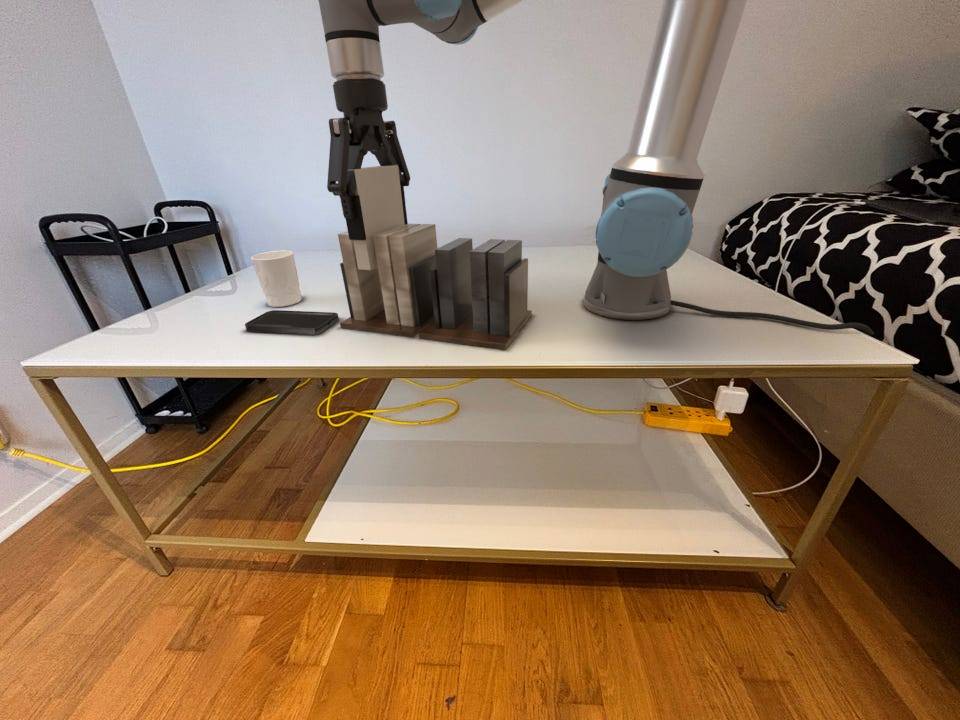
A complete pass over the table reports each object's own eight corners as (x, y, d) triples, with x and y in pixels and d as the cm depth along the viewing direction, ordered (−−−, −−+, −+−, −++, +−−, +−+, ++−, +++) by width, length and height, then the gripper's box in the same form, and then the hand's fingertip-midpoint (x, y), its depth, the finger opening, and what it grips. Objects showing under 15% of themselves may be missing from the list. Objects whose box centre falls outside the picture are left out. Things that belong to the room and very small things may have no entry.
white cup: (286, 309, 83) (273, 260, 79) (256, 306, 86) (241, 258, 81) (312, 297, 90) (301, 251, 85) (283, 294, 92) (271, 249, 88)
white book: (408, 253, 77) (398, 165, 70) (370, 270, 67) (354, 169, 60) (396, 252, 78) (385, 165, 71) (358, 269, 68) (340, 169, 61)
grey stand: (531, 315, 75) (533, 236, 68) (505, 350, 63) (504, 258, 56) (457, 307, 80) (451, 234, 74) (419, 338, 68) (408, 253, 61)
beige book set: (452, 307, 80) (445, 222, 73) (413, 337, 68) (401, 239, 61) (387, 300, 86) (375, 220, 78) (340, 328, 73) (320, 236, 66)
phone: (270, 310, 80) (340, 312, 77) (271, 315, 80) (341, 318, 77) (241, 325, 73) (316, 329, 70) (243, 331, 73) (318, 335, 70)
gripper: (383, 90, 71) (399, 219, 81) (274, 72, 52) (313, 246, 62) (421, 86, 69) (433, 220, 79) (322, 65, 49) (354, 248, 59)
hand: (380, 232), depth 70 cm, fingers closed on white book, 12 cm apart
